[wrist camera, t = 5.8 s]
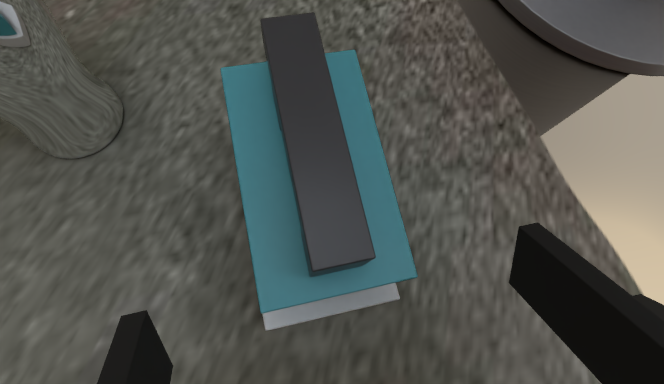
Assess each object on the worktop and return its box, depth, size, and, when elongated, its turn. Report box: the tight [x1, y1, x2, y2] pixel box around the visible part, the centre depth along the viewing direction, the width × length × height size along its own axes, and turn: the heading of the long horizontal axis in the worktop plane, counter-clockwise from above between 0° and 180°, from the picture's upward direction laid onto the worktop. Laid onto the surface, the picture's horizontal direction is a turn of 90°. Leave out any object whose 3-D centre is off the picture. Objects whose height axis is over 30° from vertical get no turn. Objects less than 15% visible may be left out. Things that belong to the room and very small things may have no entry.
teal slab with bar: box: [221, 12, 418, 331], centre depth 21 cm, size 18×8×11 cm, turn 13°
